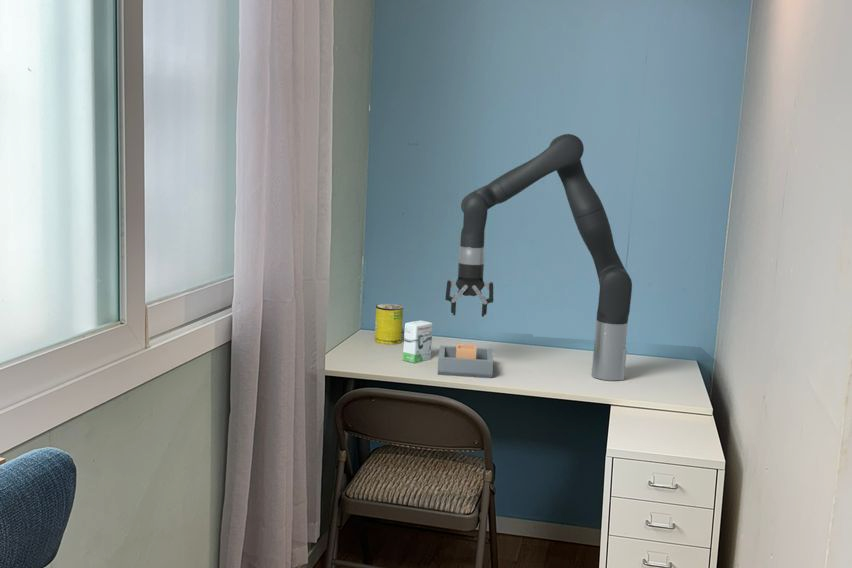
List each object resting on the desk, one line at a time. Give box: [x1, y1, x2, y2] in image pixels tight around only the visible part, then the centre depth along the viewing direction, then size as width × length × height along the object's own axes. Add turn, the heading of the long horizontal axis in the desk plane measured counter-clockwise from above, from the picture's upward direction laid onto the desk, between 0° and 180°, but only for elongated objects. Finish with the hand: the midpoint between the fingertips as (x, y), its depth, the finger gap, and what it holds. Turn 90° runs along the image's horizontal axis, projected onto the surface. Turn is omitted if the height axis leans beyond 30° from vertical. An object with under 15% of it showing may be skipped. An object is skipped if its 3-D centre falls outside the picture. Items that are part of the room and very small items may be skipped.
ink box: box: [402, 319, 434, 364], centre depth 278 cm, size 9×5×12 cm, turn 142°
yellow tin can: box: [374, 303, 404, 346], centre depth 300 cm, size 9×9×12 cm
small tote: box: [456, 343, 478, 359], centre depth 270 cm, size 6×6×6 cm
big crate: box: [437, 345, 494, 379], centre depth 270 cm, size 16×16×5 cm
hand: (468, 315), depth 267 cm, fingers open, 8 cm apart
